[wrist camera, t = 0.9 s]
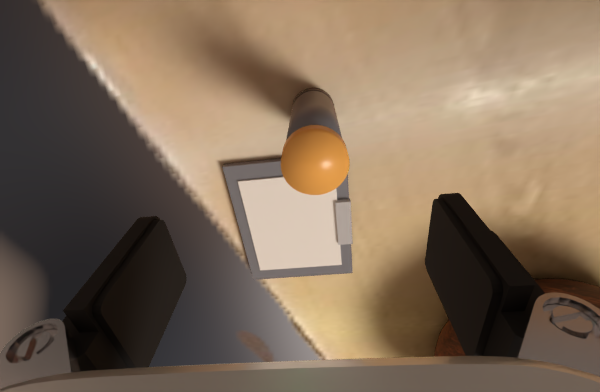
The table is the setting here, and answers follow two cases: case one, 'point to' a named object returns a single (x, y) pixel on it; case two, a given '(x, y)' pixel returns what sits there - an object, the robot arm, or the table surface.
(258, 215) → the clipboard
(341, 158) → the orange topped gray cylinder
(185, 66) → the table surface
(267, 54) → the table surface
